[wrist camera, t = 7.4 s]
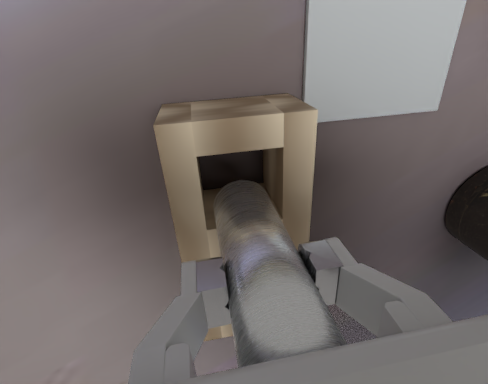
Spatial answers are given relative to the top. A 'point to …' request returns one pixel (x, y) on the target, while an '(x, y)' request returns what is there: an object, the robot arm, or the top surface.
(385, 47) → the mat
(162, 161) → the socket block
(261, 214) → the peg
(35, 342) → the top surface
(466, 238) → the container
